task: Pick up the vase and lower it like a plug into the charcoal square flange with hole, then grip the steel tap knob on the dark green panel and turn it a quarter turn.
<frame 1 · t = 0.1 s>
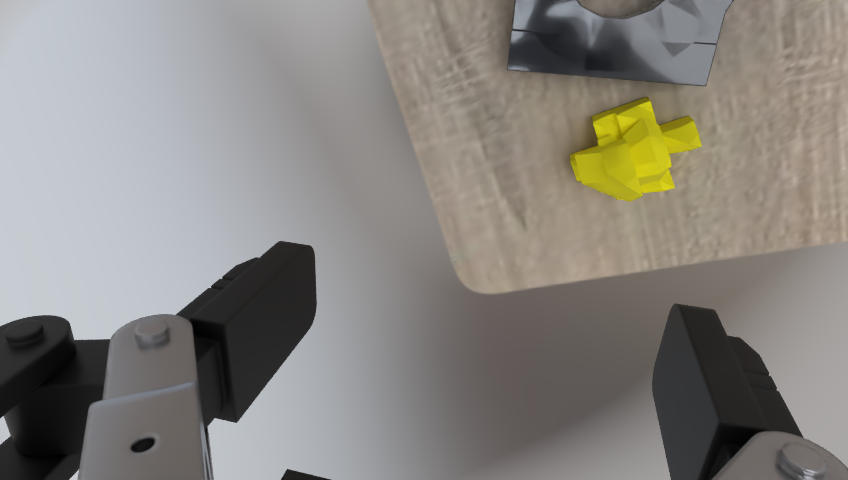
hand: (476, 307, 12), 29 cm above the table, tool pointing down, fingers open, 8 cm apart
yellow faceted cluster: (630, 145, 38), on the table
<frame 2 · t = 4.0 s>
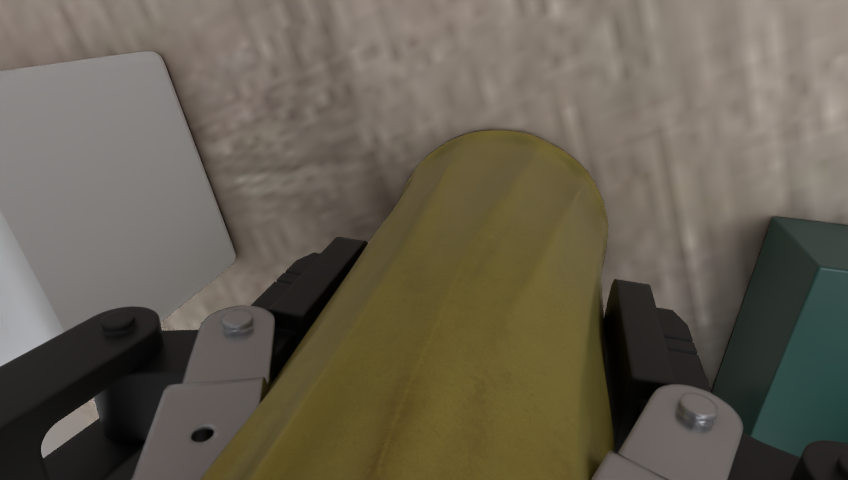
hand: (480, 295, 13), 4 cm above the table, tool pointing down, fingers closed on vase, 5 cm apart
vase: (499, 227, 16), on the table, touching gripper
medicine bottle: (124, 175, 19), on the table
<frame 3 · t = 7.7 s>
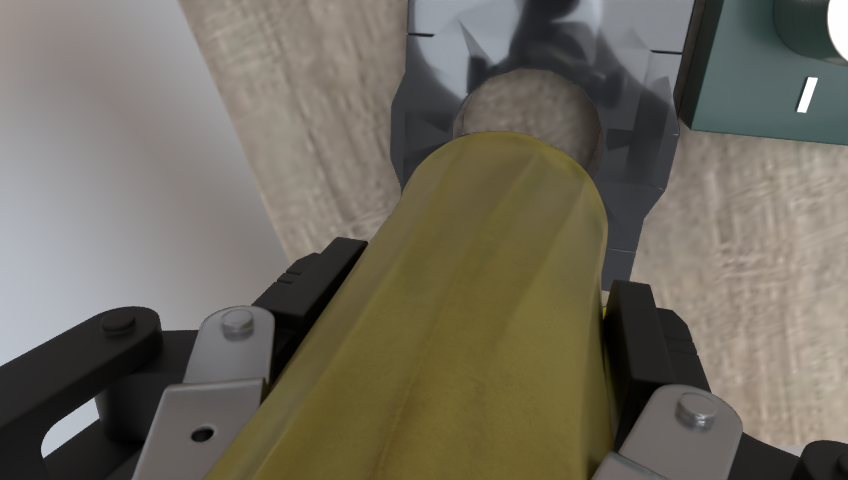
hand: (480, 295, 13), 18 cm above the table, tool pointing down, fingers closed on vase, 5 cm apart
square flange with hole: (528, 132, 29), on the table
vase: (499, 228, 16), point 14 cm above the table, touching gripper
when the fingers open (4 cm above the table, at t = 11.8 s): vase stays where it is, resting in square flange with hole.
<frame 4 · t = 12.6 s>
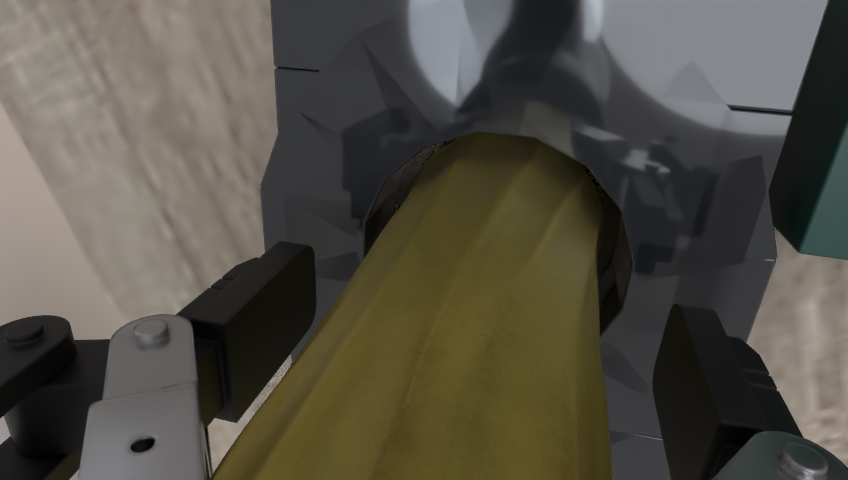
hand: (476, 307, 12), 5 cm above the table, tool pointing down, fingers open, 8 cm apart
square flange with hole: (501, 224, 17), on the table
vase: (501, 221, 17), resting in square flange with hole
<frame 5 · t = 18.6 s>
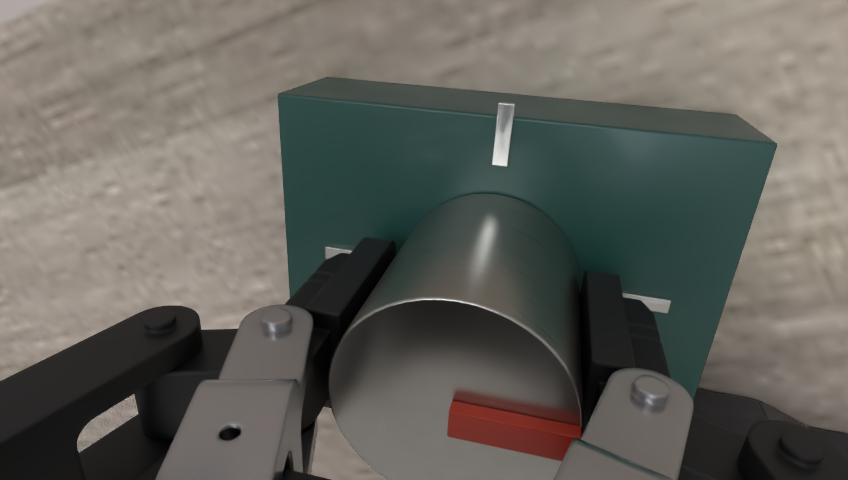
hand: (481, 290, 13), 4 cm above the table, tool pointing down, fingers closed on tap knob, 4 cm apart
tap knob: (470, 334, 11), point 6 cm above the table, hinge at 0.1°, touching gripper
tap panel: (500, 229, 16), on the table
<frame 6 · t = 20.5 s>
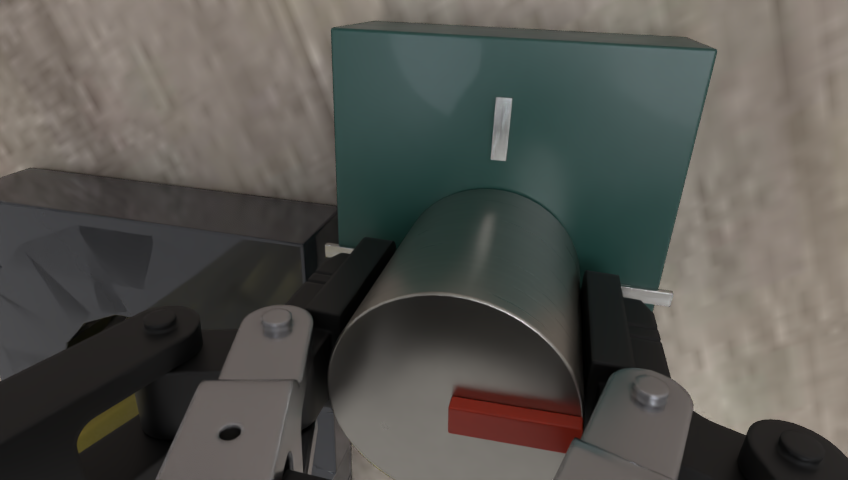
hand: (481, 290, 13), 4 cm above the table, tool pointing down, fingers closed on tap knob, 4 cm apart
square flange with hole: (205, 353, 21), on the table
tap knob: (470, 330, 11), point 6 cm above the table, hinge at 92.1°, touching gripper
vase: (207, 350, 22), resting in square flange with hole
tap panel: (501, 225, 16), on the table
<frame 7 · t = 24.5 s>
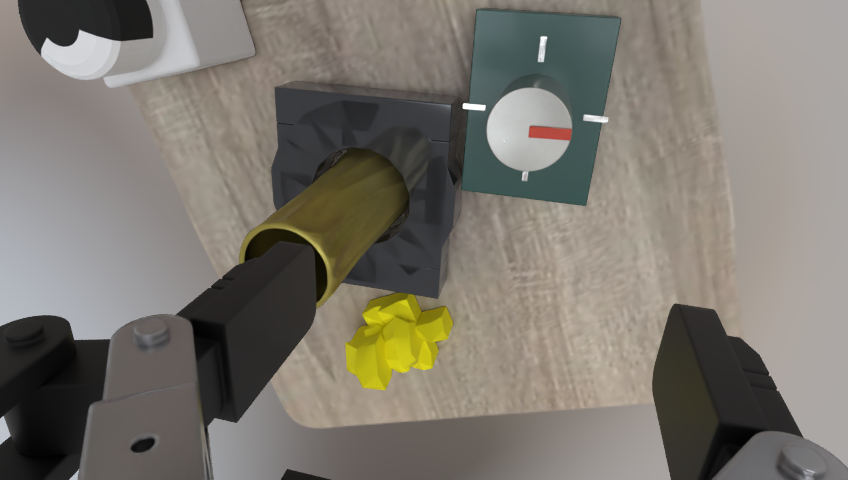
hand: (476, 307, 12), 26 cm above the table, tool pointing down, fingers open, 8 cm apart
square flange with hole: (373, 184, 40), on the table
yellow faceted cluster: (405, 323, 45), on the table
tap knob: (531, 121, 30), point 6 cm above the table, hinge at 91.7°
vase: (374, 183, 41), resting in square flange with hole
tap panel: (536, 103, 35), on the table
medicine bottle: (200, 13, 39), on the table
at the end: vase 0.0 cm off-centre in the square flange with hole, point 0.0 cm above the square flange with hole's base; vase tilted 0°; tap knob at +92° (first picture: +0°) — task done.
